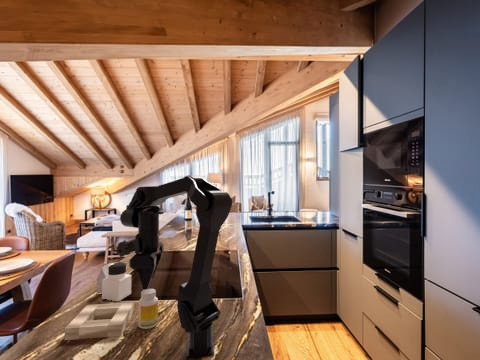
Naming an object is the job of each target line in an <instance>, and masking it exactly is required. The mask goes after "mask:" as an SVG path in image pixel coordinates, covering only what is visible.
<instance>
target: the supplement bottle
mask: <svg viewBox="0 0 480 360" xmlns="http://www.w3.org/2000/svg"><path fill="white" fill-rule="evenodd" d="M156 295H157V291H156V289H154V288H147V289H142V291H141V292H140V299H139V300H138V311H137V312H138V313H137V314H138V316H137V321H138V322H137V324H138V325H137V326H138V328H140V329H144V330H148V329H152V328H154V327H156V326H157V325H158V322H159V317H158V316H159V299H158V297H157V296H156Z"/></svg>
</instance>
